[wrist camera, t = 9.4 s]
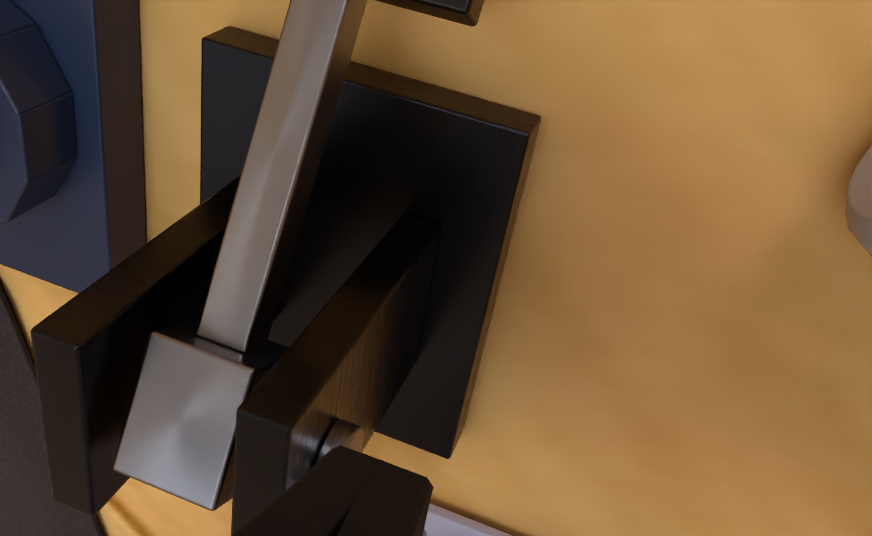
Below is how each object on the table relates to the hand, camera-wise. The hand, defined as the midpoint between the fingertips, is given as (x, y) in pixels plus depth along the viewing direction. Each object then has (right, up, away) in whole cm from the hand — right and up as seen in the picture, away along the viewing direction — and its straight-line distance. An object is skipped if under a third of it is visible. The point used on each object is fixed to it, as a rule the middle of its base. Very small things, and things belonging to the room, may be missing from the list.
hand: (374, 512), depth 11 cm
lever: (-2, +4, +6) cm, 8 cm away
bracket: (-1, +4, +11) cm, 12 cm away
